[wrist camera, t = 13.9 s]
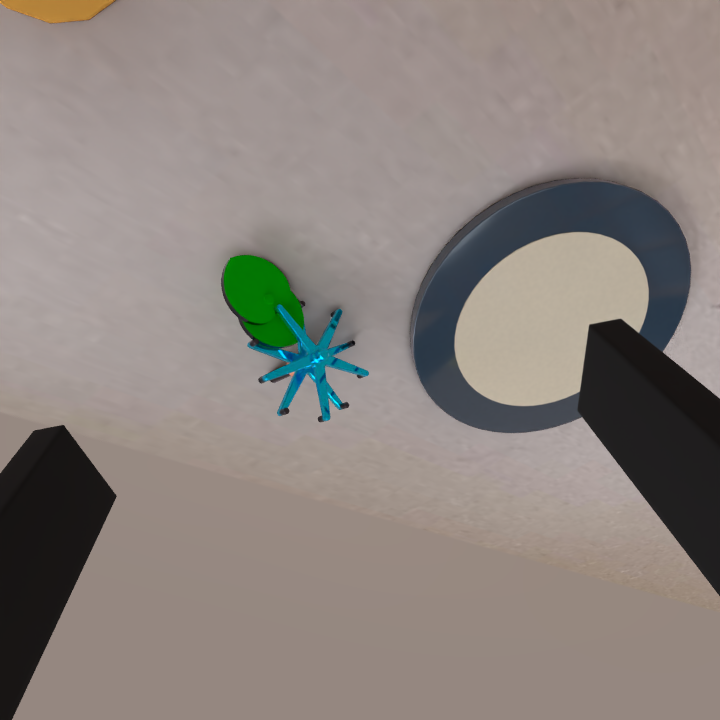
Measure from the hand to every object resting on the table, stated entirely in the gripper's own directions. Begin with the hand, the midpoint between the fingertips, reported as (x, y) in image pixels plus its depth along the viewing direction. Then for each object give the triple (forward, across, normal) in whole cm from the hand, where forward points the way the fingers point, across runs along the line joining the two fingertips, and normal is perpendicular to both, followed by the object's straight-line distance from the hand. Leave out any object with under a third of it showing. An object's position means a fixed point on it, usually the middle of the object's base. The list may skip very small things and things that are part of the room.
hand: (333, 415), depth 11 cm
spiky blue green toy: (+19, -4, -7) cm, 21 cm away
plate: (+19, +14, -11) cm, 26 cm away
